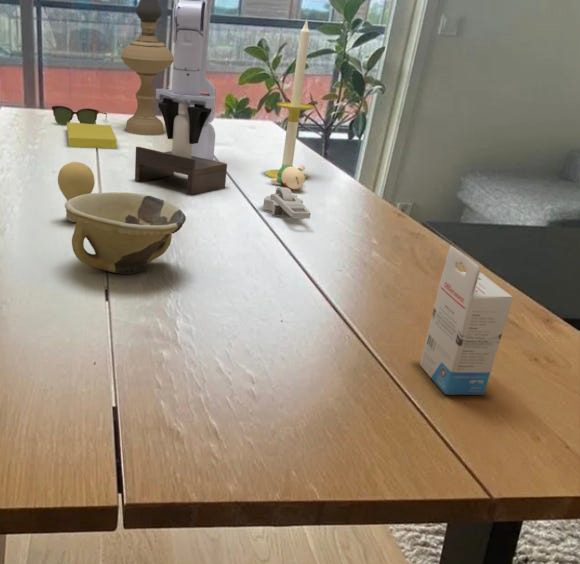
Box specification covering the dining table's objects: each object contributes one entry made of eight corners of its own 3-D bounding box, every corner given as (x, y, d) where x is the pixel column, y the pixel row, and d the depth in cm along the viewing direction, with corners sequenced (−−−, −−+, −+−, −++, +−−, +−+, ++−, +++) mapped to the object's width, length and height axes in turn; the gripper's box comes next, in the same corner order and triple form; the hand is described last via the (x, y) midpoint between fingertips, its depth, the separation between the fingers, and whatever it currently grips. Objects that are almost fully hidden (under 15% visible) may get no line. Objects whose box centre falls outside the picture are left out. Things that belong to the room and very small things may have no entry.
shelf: (169, 174, 177) (171, 141, 173) (225, 187, 169) (228, 153, 165) (134, 180, 169) (135, 146, 165) (190, 195, 161) (193, 159, 157)
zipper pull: (279, 229, 142) (282, 205, 140) (258, 205, 157) (261, 183, 155) (320, 231, 143) (323, 207, 141) (296, 206, 158) (299, 184, 156)
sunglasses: (50, 124, 224) (50, 105, 222) (65, 121, 237) (65, 103, 235) (98, 128, 223) (99, 109, 220) (110, 125, 236) (111, 107, 233)
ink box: (485, 396, 88) (525, 269, 79) (443, 396, 87) (479, 268, 79) (456, 365, 95) (490, 245, 87) (417, 364, 94) (448, 243, 86)
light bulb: (100, 220, 140) (101, 162, 135) (82, 227, 135) (82, 167, 130) (70, 214, 142) (69, 157, 137) (52, 221, 137) (50, 162, 132)
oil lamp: (117, 125, 229) (120, -35, 207) (167, 128, 231) (175, -31, 209) (120, 134, 216) (123, -36, 194) (172, 137, 218) (181, -31, 196)
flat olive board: (116, 148, 199) (110, 132, 219) (116, 139, 198) (110, 124, 217) (69, 146, 197) (67, 130, 217) (69, 137, 196) (66, 122, 216)
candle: (259, 176, 181) (278, 16, 163) (271, 169, 189) (290, 15, 171) (300, 182, 178) (324, 20, 160) (311, 174, 186) (334, 19, 168)
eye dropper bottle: (191, 156, 168) (196, 95, 162) (190, 161, 163) (195, 98, 157) (172, 154, 168) (175, 93, 162) (170, 159, 163) (173, 97, 157)
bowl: (93, 294, 108) (93, 225, 103) (49, 255, 121) (47, 193, 116) (202, 281, 115) (207, 216, 110) (150, 247, 128) (152, 187, 123)
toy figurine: (270, 190, 179) (283, 199, 168) (264, 171, 176) (277, 179, 166) (303, 175, 178) (318, 183, 168) (297, 156, 176) (312, 163, 165)
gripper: (147, 65, 158) (144, 137, 165) (202, 74, 150) (197, 148, 158) (169, 64, 162) (166, 134, 170) (224, 73, 155) (217, 145, 162)
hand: (182, 140), depth 164 cm, fingers closed on eye dropper bottle, 5 cm apart
